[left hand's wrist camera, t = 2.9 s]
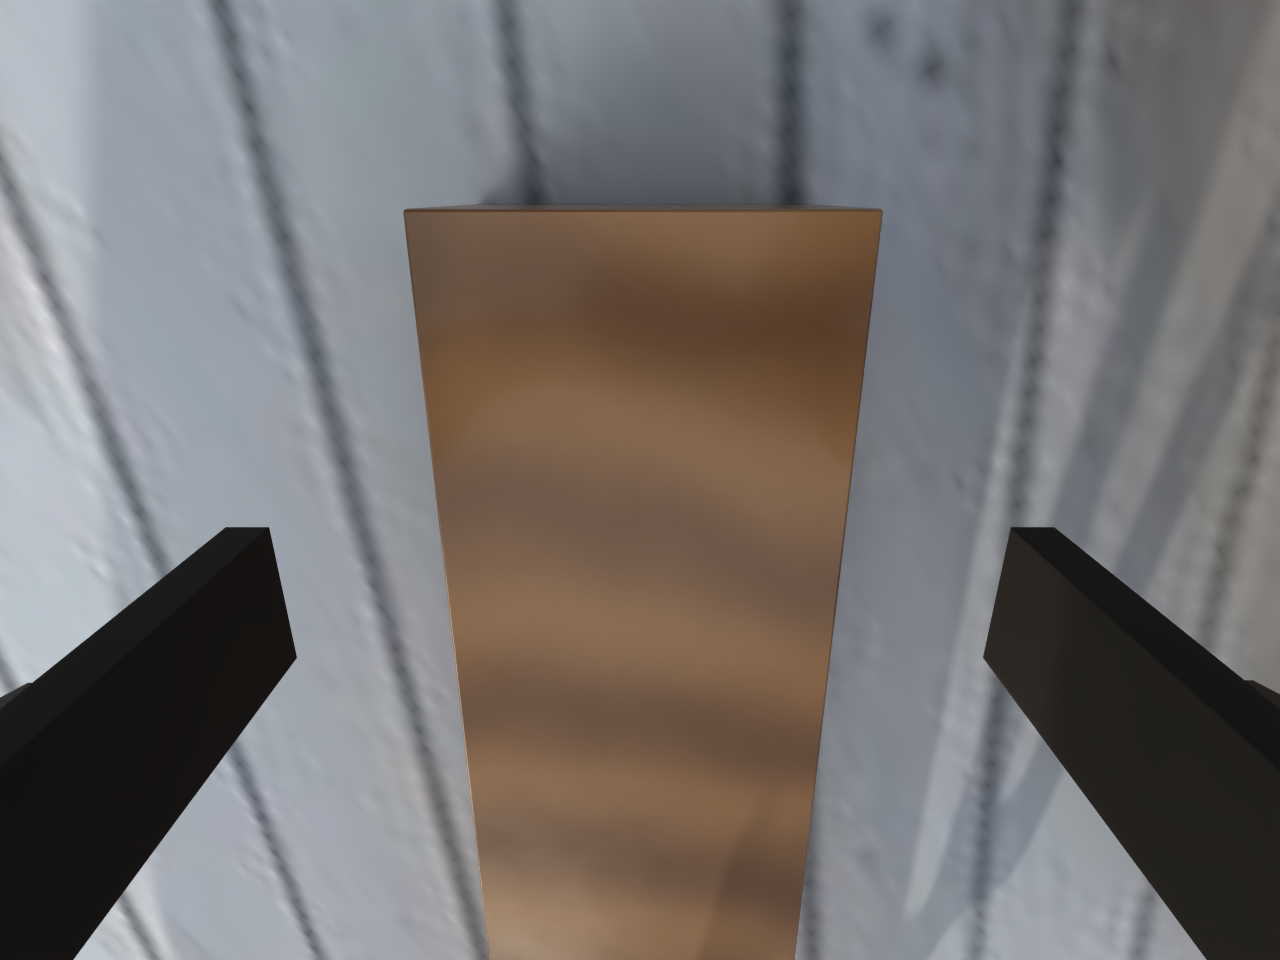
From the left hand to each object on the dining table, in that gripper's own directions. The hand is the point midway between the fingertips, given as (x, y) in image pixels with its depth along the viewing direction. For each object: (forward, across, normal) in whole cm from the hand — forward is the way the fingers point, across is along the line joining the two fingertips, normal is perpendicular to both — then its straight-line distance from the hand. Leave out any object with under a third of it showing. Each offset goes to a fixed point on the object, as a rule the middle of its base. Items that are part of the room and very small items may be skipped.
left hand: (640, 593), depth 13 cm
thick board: (+12, 0, -31) cm, 33 cm away
